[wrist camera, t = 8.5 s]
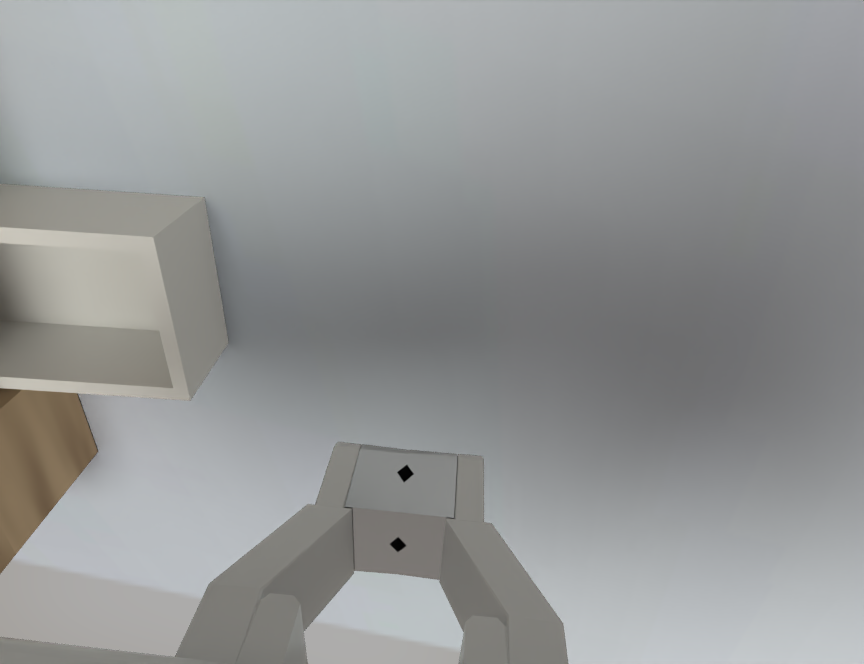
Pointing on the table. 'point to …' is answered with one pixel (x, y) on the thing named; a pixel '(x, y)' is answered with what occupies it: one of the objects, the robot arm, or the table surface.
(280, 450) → the table surface
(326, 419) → the table surface
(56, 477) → the overhang dock
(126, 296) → the white drawer
